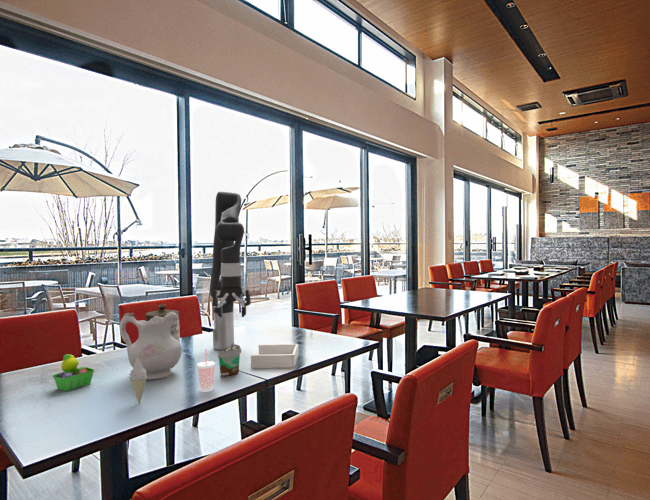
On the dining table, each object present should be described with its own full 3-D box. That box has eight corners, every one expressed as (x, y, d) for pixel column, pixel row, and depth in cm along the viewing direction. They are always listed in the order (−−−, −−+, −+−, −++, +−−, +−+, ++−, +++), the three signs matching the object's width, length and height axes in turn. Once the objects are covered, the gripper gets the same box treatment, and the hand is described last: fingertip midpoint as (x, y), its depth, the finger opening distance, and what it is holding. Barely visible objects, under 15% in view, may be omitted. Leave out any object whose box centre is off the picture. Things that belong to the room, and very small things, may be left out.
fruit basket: (63, 393, 145) (62, 360, 145) (50, 388, 150) (49, 357, 149) (95, 383, 154) (95, 352, 154) (82, 379, 159) (81, 349, 159)
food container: (234, 379, 156) (233, 352, 156) (218, 378, 157) (218, 351, 157) (246, 369, 168) (246, 344, 168) (232, 368, 169) (231, 343, 169)
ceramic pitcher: (122, 390, 149) (120, 321, 147) (120, 371, 167) (118, 309, 164) (185, 380, 159) (185, 315, 157) (177, 363, 177) (177, 304, 174)
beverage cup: (209, 385, 150) (208, 346, 150) (219, 388, 146) (218, 348, 146) (194, 390, 145) (192, 349, 145) (204, 393, 141) (203, 352, 141)
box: (251, 367, 169) (250, 355, 169) (259, 355, 187) (258, 344, 187) (294, 367, 169) (294, 355, 169) (298, 355, 187) (298, 343, 187)
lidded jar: (164, 356, 190) (163, 307, 189) (139, 353, 196) (137, 306, 195) (186, 347, 204) (185, 302, 203) (162, 345, 209) (161, 301, 209)
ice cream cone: (133, 400, 136) (132, 354, 136) (150, 399, 137) (148, 354, 137) (128, 406, 131) (126, 359, 131) (144, 406, 132) (143, 358, 132)
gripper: (251, 273, 165) (252, 315, 166) (215, 274, 166) (216, 315, 166) (247, 275, 158) (248, 318, 158) (209, 276, 158) (210, 319, 159)
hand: (232, 316), depth 162 cm, fingers open, 8 cm apart
